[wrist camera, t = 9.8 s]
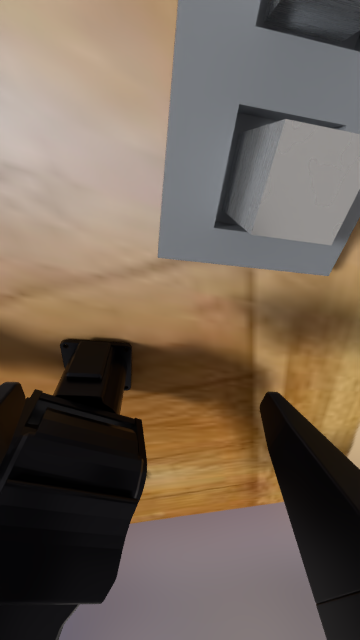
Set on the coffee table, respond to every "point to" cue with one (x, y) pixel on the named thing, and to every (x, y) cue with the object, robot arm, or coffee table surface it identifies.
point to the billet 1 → (316, 17)
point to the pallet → (245, 126)
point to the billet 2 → (294, 181)
